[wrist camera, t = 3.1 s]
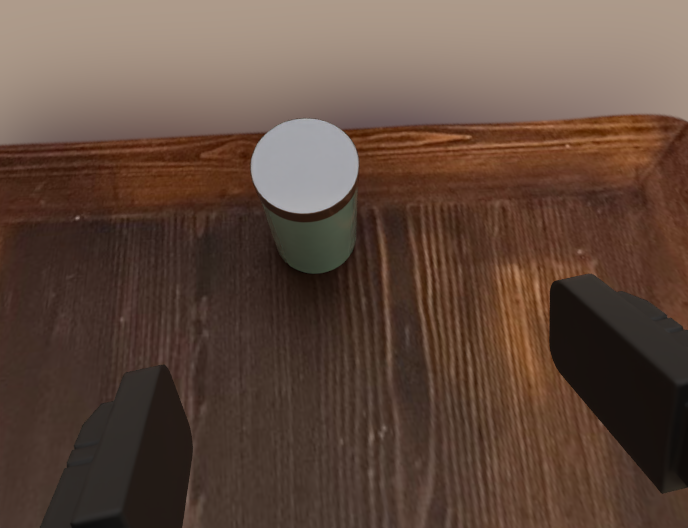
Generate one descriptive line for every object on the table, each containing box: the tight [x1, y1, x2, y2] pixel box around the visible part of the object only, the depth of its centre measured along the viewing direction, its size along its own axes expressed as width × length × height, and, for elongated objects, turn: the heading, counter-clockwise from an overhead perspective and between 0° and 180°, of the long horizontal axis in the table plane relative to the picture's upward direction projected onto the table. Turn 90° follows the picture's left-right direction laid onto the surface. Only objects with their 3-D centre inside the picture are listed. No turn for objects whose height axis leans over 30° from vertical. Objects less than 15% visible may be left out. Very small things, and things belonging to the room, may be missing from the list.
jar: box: [250, 118, 359, 274], centre depth 31 cm, size 5×5×9 cm
